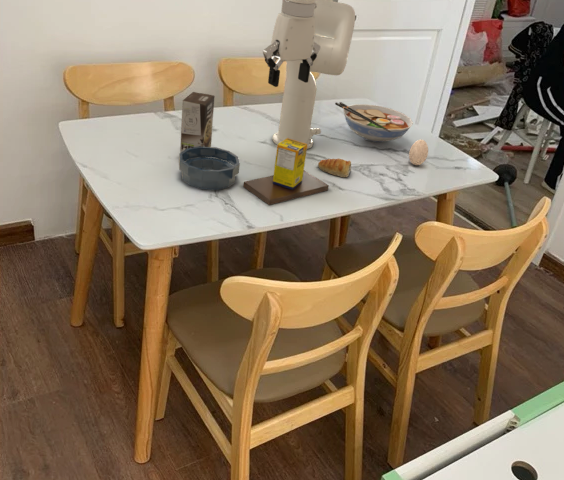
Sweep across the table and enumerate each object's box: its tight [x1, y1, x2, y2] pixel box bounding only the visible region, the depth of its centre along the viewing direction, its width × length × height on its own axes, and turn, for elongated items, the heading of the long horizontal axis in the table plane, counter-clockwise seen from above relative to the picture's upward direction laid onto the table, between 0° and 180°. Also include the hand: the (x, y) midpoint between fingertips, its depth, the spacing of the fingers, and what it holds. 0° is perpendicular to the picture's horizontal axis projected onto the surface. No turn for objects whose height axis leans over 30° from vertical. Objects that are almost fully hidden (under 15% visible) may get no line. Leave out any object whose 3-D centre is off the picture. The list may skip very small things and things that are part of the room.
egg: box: [408, 139, 429, 166], centre depth 182 cm, size 6×6×8 cm
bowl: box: [178, 146, 241, 191], centre depth 156 cm, size 15×15×6 cm
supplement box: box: [273, 138, 308, 190], centre depth 155 cm, size 6×6×11 cm
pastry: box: [317, 158, 352, 178], centre depth 171 cm, size 9×7×4 cm
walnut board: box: [242, 169, 330, 206], centre depth 158 cm, size 20×11×2 cm, turn 129°
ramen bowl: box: [334, 101, 414, 143], centre depth 197 cm, size 25×23×8 cm
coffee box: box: [179, 91, 216, 159], centre depth 165 cm, size 9×6×16 cm
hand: (288, 82), depth 149 cm, fingers open, 9 cm apart
